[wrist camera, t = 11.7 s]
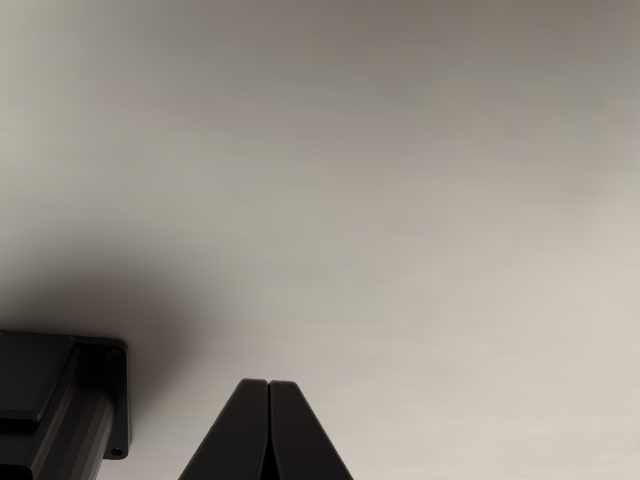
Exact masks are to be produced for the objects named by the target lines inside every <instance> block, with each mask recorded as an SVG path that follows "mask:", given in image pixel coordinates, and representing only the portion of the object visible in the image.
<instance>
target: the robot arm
mask: <svg viewBox="0 0 640 480" xmlns="http://www.w3.org/2000/svg"><path fill="white" fill-rule="evenodd" d="M110 350H115V351H118V352H119V353H117V354H116V353H113V352H111V351H110ZM117 448H119V449H117ZM129 448H130V385H129V348H128V345H127V344H126V343H125V342H124V341H122V340H119V339H112V338H99V337H85V336H71V335H57V334H44V333H30V332H16V331H2V330H0V480H96V477H97V474H98V471H99V468H100V465H101V462H102V459H109V460H121V459H124V458H126V457H127V456H128V452H129ZM178 480H354V479H353V478H352V476H351V474H350V472H349V471H348V469H347V467H346V466H345V464H344V462H343V461H342V459H341V457H340V456H339V454H338V452H337V451H336V449H335V447H334V446H333V444H332V442H331V441H330V439H329V437H328V435H327V434H326V432H325V430H324V429H323V427H322V425H321V424H320V422H319V420H318V419H317V417H316V415H315V414H314V412H313V410H312V409H311V407H310V405H309V404H308V402H307V400H306V398H305V397H304V395H303V393H302V392H301V390H300V388H299V387H298V385H297V384H296V383H295V382H292V381H279V380H272V381H270V383H269V385H268V382H267V381H266V380H264V379H248V378H245V379H242V380H241V381H240V382H239V384H238V386H237V387H236V389H235V390H234V392H233V393H232V395H231V397H230V398H229V400H228V401H227V403H226V405H225V406H224V408H223V409H222V411H221V412H220V414H219V416H218V417H217V419H216V420H215V422H214V424H213V425H212V427H211V428H210V430H209V431H208V433H207V435H206V436H205V438H204V439H203V441H202V443H201V444H200V446H199V447H198V449H197V451H196V452H195V454H194V455H193V457H192V458H191V460H190V462H189V463H188V465H187V466H186V468H185V470H184V471H183V473H182V474H181V476H180V477H179V479H178Z"/></svg>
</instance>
